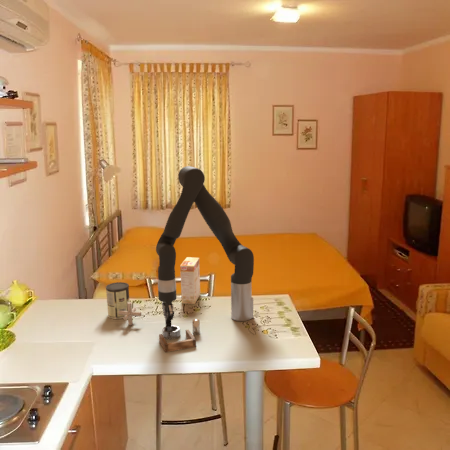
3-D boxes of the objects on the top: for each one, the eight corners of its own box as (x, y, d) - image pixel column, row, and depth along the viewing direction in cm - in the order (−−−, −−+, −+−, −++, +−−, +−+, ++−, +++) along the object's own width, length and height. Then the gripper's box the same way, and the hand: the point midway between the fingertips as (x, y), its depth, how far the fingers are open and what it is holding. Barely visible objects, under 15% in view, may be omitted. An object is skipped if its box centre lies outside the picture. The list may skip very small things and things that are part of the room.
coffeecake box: (187, 293, 248) (186, 256, 244) (200, 293, 247) (199, 257, 243) (180, 303, 234) (179, 265, 230) (195, 304, 233) (194, 265, 229)
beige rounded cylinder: (198, 331, 202) (198, 318, 201) (200, 334, 200) (200, 320, 198) (191, 332, 201) (191, 319, 200) (193, 335, 199) (193, 321, 197)
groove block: (188, 336, 198) (188, 329, 197) (196, 346, 189) (195, 339, 188) (159, 341, 194) (158, 334, 193) (165, 352, 184) (165, 345, 184)
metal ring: (177, 330, 203) (177, 324, 202) (181, 337, 197) (181, 330, 196) (161, 333, 201) (161, 326, 200) (165, 340, 194) (164, 333, 194)
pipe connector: (136, 329, 205) (135, 307, 203) (115, 328, 207) (113, 306, 205) (145, 320, 214) (144, 299, 212) (124, 319, 216) (123, 298, 214)
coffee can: (119, 308, 228) (117, 280, 225) (135, 313, 223) (133, 284, 220) (102, 316, 220) (100, 287, 217) (119, 320, 214) (117, 291, 211)
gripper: (179, 292, 195) (181, 332, 198) (172, 282, 207) (173, 320, 210) (161, 295, 192) (163, 335, 196) (154, 284, 204) (156, 322, 208)
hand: (168, 327), depth 203 cm, fingers closed
